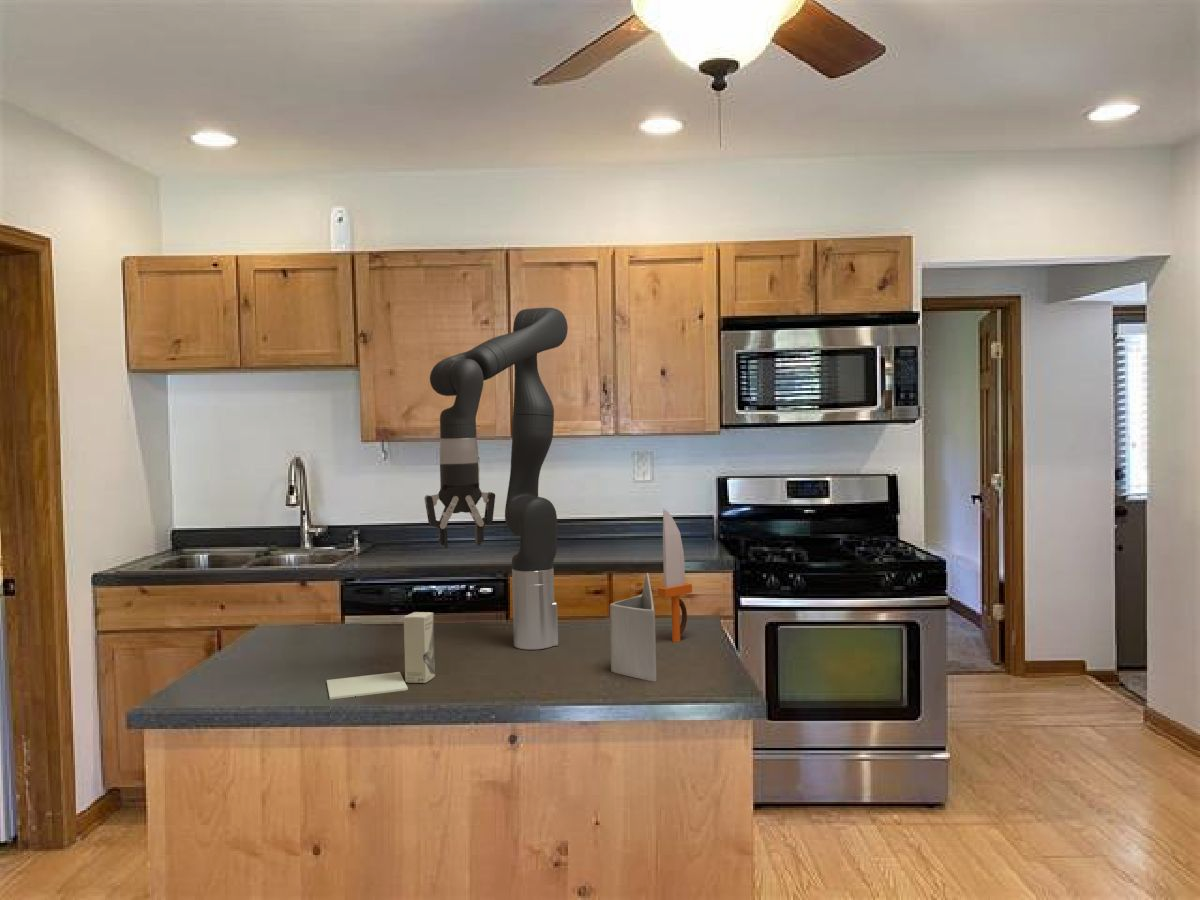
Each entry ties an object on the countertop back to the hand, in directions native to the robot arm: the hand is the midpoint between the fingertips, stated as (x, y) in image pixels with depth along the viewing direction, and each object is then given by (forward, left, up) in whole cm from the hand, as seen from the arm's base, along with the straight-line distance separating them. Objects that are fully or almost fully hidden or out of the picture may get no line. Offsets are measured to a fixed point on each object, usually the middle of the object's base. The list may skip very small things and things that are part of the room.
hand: (461, 546), depth 176 cm
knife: (-49, -7, -26) cm, 56 cm away
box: (+9, 0, -26) cm, 27 cm away
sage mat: (+19, 0, -26) cm, 32 cm away
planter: (-31, +11, -26) cm, 42 cm away
